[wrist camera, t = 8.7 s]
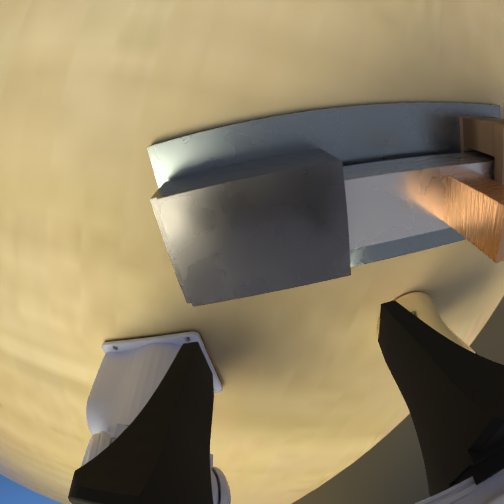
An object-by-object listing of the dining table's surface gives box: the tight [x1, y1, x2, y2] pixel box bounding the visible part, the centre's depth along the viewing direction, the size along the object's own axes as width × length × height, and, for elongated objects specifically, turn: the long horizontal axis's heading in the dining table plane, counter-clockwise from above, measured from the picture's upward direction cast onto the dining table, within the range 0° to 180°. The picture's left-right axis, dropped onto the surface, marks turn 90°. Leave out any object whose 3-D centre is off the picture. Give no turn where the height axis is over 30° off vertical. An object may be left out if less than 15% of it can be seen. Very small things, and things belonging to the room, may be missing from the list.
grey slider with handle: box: [343, 151, 504, 263], centre depth 14 cm, size 16×4×8 cm, turn 102°
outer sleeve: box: [147, 102, 500, 306], centre depth 17 cm, size 26×11×5 cm, turn 102°
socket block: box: [459, 117, 504, 185], centre depth 16 cm, size 4×9×5 cm, turn 12°
